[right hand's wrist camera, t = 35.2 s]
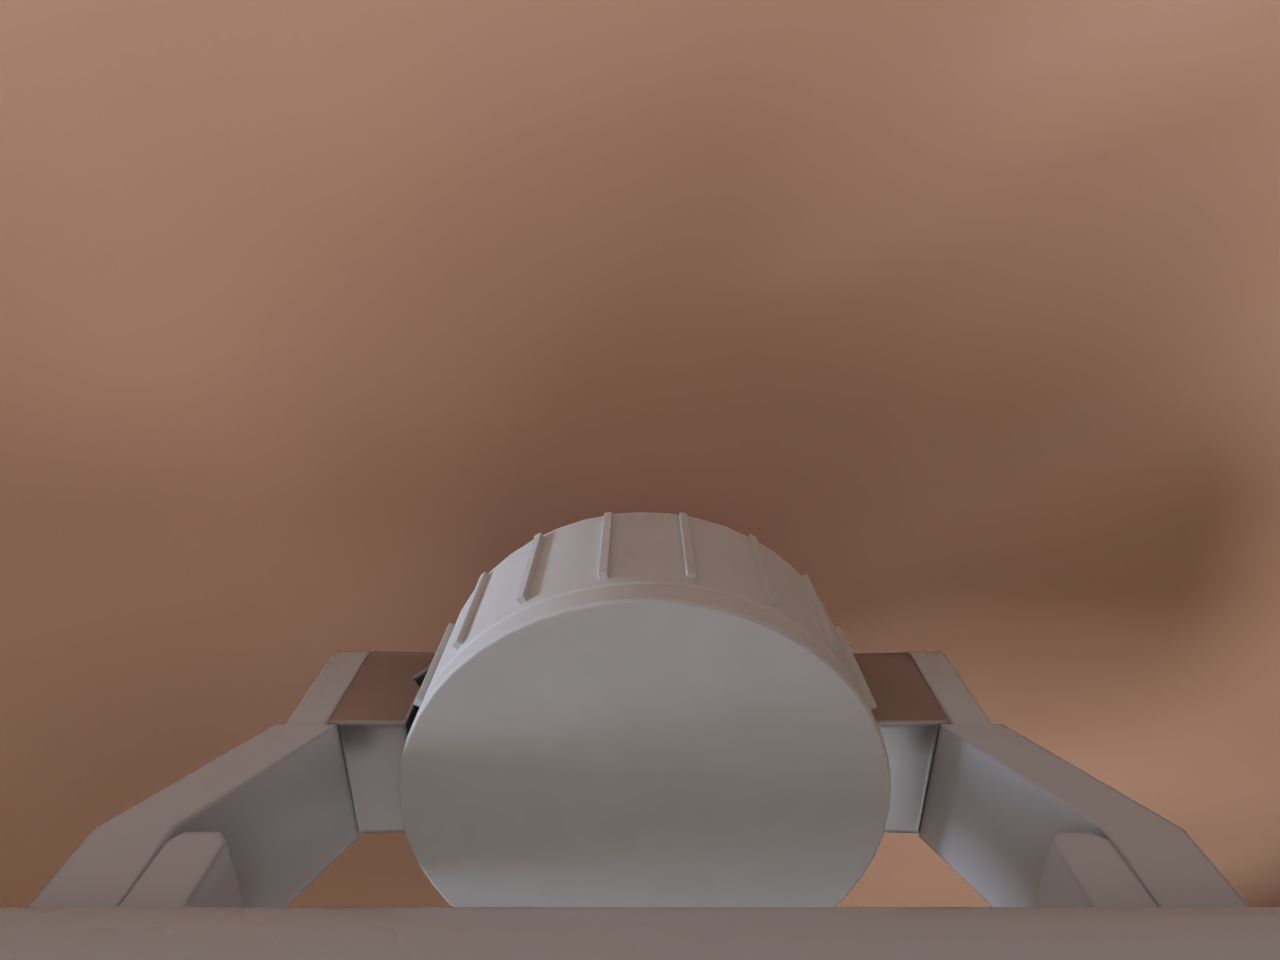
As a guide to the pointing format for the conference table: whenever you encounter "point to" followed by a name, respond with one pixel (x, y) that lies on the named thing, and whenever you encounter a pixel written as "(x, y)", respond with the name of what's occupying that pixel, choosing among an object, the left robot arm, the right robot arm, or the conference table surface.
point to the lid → (644, 729)
